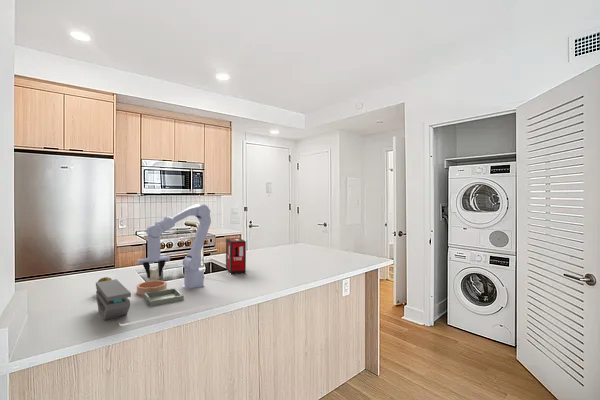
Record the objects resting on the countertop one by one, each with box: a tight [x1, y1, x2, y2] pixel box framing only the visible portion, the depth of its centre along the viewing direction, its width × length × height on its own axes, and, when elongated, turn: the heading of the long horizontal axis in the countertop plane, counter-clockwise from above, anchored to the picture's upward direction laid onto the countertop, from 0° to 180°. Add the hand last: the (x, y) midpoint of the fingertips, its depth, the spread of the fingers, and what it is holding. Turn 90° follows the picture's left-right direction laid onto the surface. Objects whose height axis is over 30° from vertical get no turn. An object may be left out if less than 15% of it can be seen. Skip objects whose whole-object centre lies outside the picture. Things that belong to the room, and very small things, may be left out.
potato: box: [95, 276, 113, 291], centre depth 149 cm, size 8×13×8 cm, turn 26°
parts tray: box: [143, 287, 185, 307], centre depth 143 cm, size 14×14×3 cm
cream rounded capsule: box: [148, 268, 160, 281], centre depth 152 cm, size 4×4×4 cm
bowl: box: [136, 279, 168, 297], centre depth 154 cm, size 13×13×4 cm
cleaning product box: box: [225, 237, 247, 275], centre depth 198 cm, size 16×9×20 cm, turn 25°
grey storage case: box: [95, 279, 132, 321], centre depth 126 cm, size 25×8×11 cm, turn 42°
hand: (153, 276), depth 152 cm, fingers closed on cream rounded capsule, 4 cm apart
